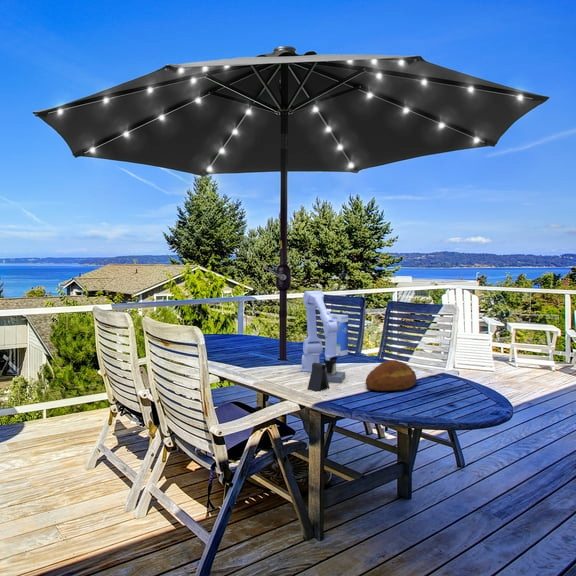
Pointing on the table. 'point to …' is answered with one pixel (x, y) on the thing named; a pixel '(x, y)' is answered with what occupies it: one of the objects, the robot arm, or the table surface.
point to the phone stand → (318, 377)
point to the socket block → (336, 377)
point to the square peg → (332, 370)
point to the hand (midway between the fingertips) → (330, 371)
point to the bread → (391, 377)
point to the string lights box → (341, 334)
